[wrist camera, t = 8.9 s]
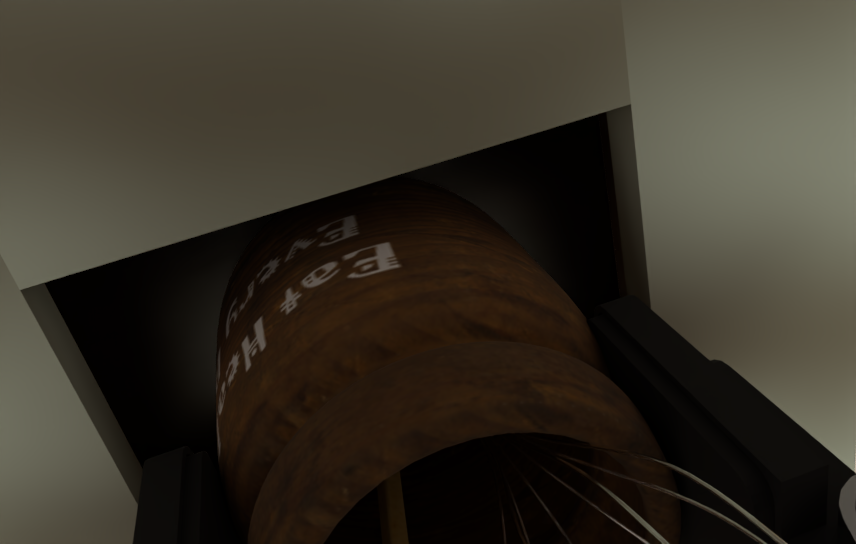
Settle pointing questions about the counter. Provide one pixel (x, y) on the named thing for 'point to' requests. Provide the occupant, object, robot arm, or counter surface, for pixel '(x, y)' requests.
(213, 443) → the counter surface
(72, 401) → the drop box
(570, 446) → the utensil holder
